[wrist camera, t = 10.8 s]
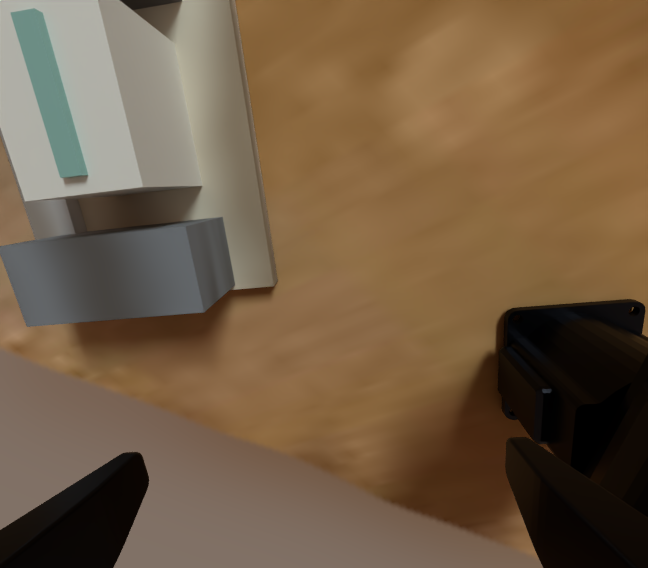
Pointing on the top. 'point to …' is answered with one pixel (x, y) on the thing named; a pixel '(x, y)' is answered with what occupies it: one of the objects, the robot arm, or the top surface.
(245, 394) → the top surface
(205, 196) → the rail board
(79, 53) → the module block
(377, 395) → the top surface
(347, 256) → the top surface
